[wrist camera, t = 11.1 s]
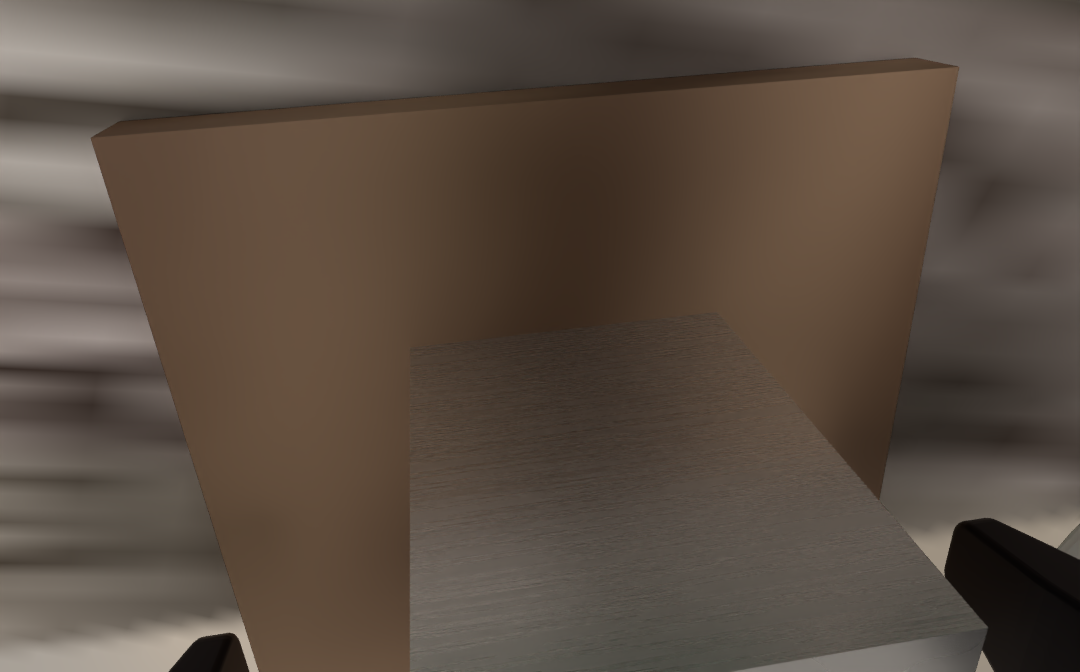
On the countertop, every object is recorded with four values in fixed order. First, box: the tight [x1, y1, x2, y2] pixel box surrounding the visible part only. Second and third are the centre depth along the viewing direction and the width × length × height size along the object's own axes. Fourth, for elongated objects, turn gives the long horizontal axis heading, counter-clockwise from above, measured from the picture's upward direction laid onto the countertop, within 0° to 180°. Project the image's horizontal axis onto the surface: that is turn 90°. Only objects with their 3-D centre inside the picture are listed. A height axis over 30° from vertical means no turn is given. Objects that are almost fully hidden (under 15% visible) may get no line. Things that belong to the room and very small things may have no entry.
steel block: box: [410, 312, 988, 672], centre depth 9 cm, size 4×4×6 cm
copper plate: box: [91, 58, 959, 672], centre depth 13 cm, size 11×11×1 cm
